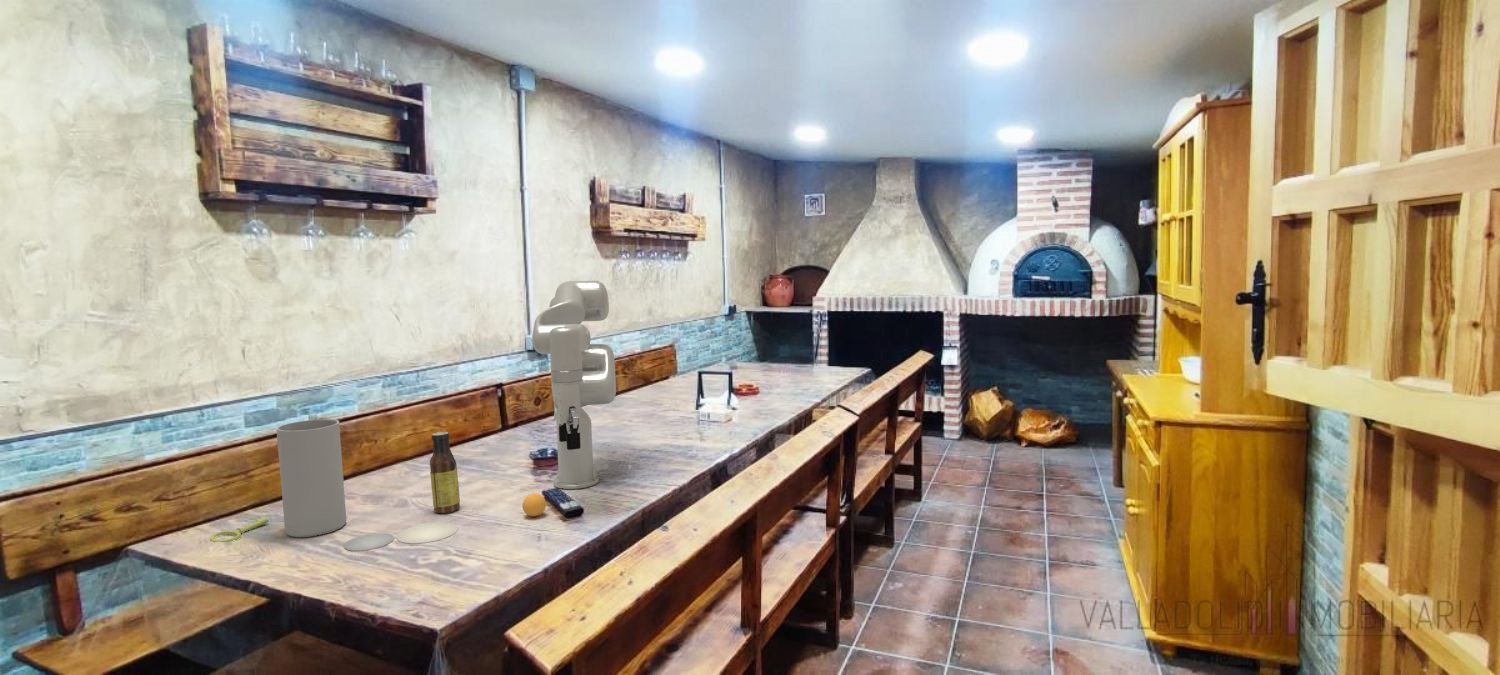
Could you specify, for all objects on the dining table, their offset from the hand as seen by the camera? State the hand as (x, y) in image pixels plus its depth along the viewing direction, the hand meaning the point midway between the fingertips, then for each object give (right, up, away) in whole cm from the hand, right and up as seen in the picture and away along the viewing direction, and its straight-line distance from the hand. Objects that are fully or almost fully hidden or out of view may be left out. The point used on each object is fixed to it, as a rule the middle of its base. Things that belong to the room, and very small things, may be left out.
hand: (569, 445), depth 181 cm
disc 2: (-30, -19, -13) cm, 37 cm away
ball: (-8, -14, -3) cm, 17 cm away
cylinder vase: (-58, -19, -9) cm, 61 cm away
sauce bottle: (-32, -17, +3) cm, 36 cm away
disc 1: (-41, -19, -18) cm, 48 cm away
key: (-74, -20, -11) cm, 78 cm away
